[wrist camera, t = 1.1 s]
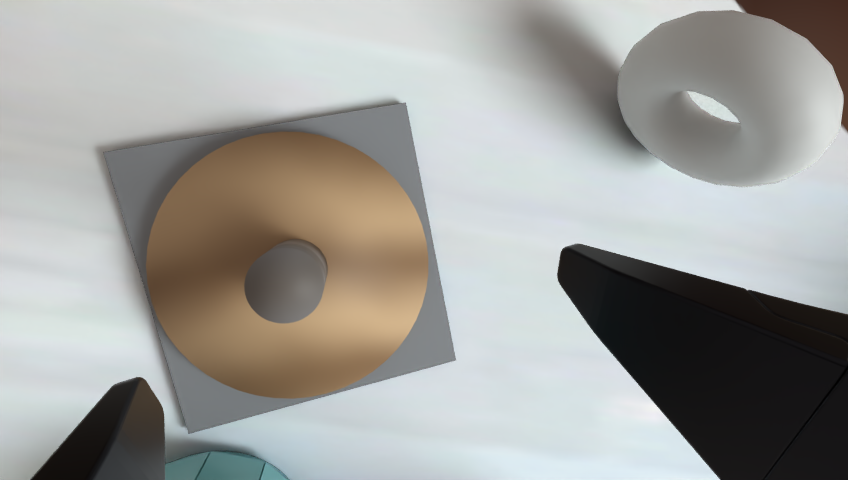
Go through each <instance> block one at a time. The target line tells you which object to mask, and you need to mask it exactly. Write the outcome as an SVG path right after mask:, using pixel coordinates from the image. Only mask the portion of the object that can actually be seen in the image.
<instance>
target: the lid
mask: <svg viewBox="0 0 848 480" xmlns="http://www.w3.org/2000/svg"><path fill="white" fill-rule="evenodd" d="M146 271H147V284H148V288H149V293H150V297H151V301H152V304H153V307H154V310H155V312H156V315H157V317H158V320H159V321H160V323H161V325H162V327H163V329H164V330H165V332H166V334H167V336H168V337H169V338H170V340H171V341H172V342H173V344H174V345H175V346H176V348H177V349H178V350H179V351H180V352H181V353H182V354H183V355H184V356H185V357H186V358H187V359H188V360H189V361H190V362H191V363H192V364H193V365H195V366H196V367H197V368H198V369H200V370H201V371H202V372H204V373H205V374H206V375H208V376H210V377H212V378H213V379H215V380H217V381H218V382H220V383H222V384H224V385H227V386H229V387H231V388H234V389H236V390H239V391H242V392H246V393H249V394H253V395H257V396H263V397H270V398H286V399H294V398H305V397H312V396H317V395H322V394H327V393H330V392H333V391H336V390H339V389H341V388H344V387H346V386H348V385H350V384H352V383H355V382H357V381H359V380H360V379H362V378H363V377H365V376H367V375H368V374H370V373H371V372H373V371H374V370H375V369H377V368H378V367H379V366H380V365H382V364H383V363H384V362H385V361H386V360H387V359H388V358H389V357H390V356H391V355H392V354H393V353H394V352H395V351H396V350H397V349H398V348H399V346H400V345H401V344H402V342H403V341H404V339H405V338H406V337H407V335H408V334H409V332H410V330H411V328H412V327H413V325H414V323H415V321H416V319H417V317H418V314H419V312H420V309H421V307H422V304H423V300H424V296H425V292H426V288H427V280H428V251H427V243H426V238H425V234H424V231H423V227H422V224H421V221H420V219H419V216H418V214H417V211H416V209H415V207H414V206H413V204H412V202H411V200H410V199H409V197H408V195H407V194H406V192H405V191H404V190H403V188H402V187H401V186H400V184H399V183H398V182H397V180H396V179H395V178H394V177H393V176H392V175H391V174H390V173H389V172H388V171H387V170H386V169H385V168H384V167H382V166H381V165H380V164H379V163H377V162H376V161H375V160H373V159H372V158H371V157H370V156H368V155H366V154H364V153H363V152H361V151H359V150H358V149H356V148H354V147H352V146H350V145H347V144H345V143H343V142H340V141H338V140H335V139H332V138H328V137H325V136H321V135H316V134H310V133H304V132H272V133H263V134H258V135H254V136H250V137H246V138H242V139H240V140H237V141H234V142H232V143H229V144H227V145H224V146H223V147H221V148H219V149H217V150H215V151H213V152H212V153H210V154H208V155H207V156H205V157H204V158H203V159H201V160H200V161H198V162H197V163H196V164H194V165H193V166H192V167H191V168H190V169H189V170H188V171H187V172H186V173H185V174H184V175H183V176H182V177H181V178H180V179H179V180H178V181H177V183H176V184H175V185H174V186H173V188H172V189H171V190H170V192H169V193H168V194H167V196H166V198H165V200H164V201H163V203H162V205H161V207H160V209H159V210H158V213H157V215H156V218H155V220H154V223H153V226H152V228H151V233H150V237H149V242H148V246H147V260H146Z"/></svg>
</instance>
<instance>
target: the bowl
mask: <svg viewBox="0 0 848 480" xmlns="http://www.w3.org/2000/svg"><path fill="white" fill-rule="evenodd" d="M165 480H289V479H288V478H287V477H286V476H285V475H284V474H283V473H282V472H281V471H280V470H278V469H277V468H276V467H274V466H273V465H271V464H269V463H268V462H266V461H264V460H262V459H259V458H257V457H254V456H251V455H247V454H243V453H238V452H230V451H211V452H210V451H209V452H204V453H199V454H194V455H190V456H187V457H184V458H181V459H178V460H176V461H174V462H170V463H167V464H165Z"/></svg>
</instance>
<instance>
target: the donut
mask: <svg viewBox="0 0 848 480" xmlns="http://www.w3.org/2000/svg"><path fill="white" fill-rule="evenodd" d="M687 91H693V92H697V93H700V94H703V95H705V96H708V97H711V98H713V99H714V100H716V101H717V102H719V103H721V104H722V105H724V106H725V107H727V108H728V109H729V110H730V111H731V112H732V113H733V114H734V115H735V116H736V117H737V118H738V120H739V122H740V123H736V122H730V121H725V120H722V119H720V118H717V117H715V116H712V115H710V114H709V113H707V112H706V111H704V110H703V109H701V108H700V107H699V106H698V105H697V104H696V103H695V102H694V101H693V100H692V99H691V98H690V96H689V94H688V92H687ZM617 99H618V103H619V106H620V110H621V113H622V116H623V119H624V121H625V123H626V124H627V126H628V127H629V129H630V130H631V132H632V133H633V135H634V137H635V138H636V139H637V140H638V141H639V142H640V143H641V144H642V145H643V146H644V147H645V148H646V149H647V150H648V151H649V152H650V153H651V154H653V155H654V156H655V157H657V158H658V159H660V160H661V161H663V162H664V163H665V164H667V165H668V166H670V167H672V168H674V169H676V170H678V171H680V172H682V173H684V174H686V175H688V176H690V177H692V178H696V179H699V180H702V181H706V182H709V183H713V184H716V185H726V186H736V187H752V186H759V185H766V184H773V183H777V182H780V181H783V180H786V179H788V178H790V177H792V176H794V175H796V174H798V173H800V172H802V171H804V170H806V169H808V168H809V167H811V166H812V165H813V164H814V163H816V162H817V161H818V160H819V159H820V158H821V156H822V155H823V154H824V152H825V151H826V150H827V149H828V147H829V146H830V145H831V144H832V142H833V141H834V140H835V138H836V136H837V134H838V133H839V131H840V125H841V117H842V109H843V93H842V90H841V87H840V85H839V83H838V80H837V77H836V75H835V72H834V69H833V67H832V65H831V64H830V63H829V62H828V61H827V60H826V59H825V58H824V57H823V56H822V55H821V54H820V52H819V51H818V50H817V49H816V48H815V47H814V46H813V45H812V44H811V43H810V42H809V41H808V40H807V39H806V38H804V37H802V36H800V35H798V34H797V33H795V32H793V31H791V30H789V29H788V28H786V27H784V26H782V25H780V24H779V23H777V22H775V21H773V20H771V19H766V18H763V17H758V16H754V15H750V14H746V13H742V12H738V11H734V10H730V11H698V12H695V13H692V14H689V15H686V16H683V17H680V18H677V19H674V20H671V21H668V22H665V23H662V24H660V25H659V26H657V27H656V28H655V29H654V30H652V31H651V32H650V33H649V34H647V35H646V36H645V37H644V38H642V39H641V40H640V41H639V42H638V43H636V44H635V45H634V46H633V48H632V49H631V51H630V52H629V54H628V56H627V58H626V60H625V62H624V64H623V66H622V68H621V70H620V72H619V77H618V91H617Z"/></svg>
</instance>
